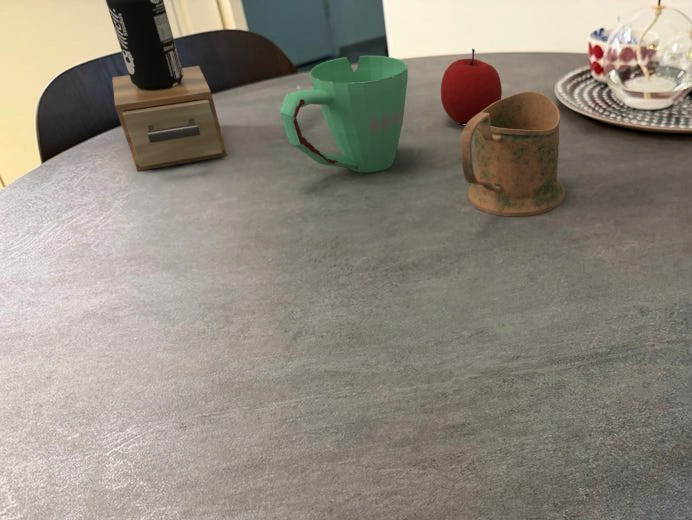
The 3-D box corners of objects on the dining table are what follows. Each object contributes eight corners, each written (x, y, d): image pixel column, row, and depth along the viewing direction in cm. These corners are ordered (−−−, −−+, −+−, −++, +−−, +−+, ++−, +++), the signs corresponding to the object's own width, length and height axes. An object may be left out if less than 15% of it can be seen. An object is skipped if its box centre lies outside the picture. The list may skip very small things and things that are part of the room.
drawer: (226, 163, 91) (213, 111, 87) (142, 178, 88) (123, 124, 84) (210, 124, 103) (198, 76, 99) (135, 136, 100) (119, 87, 96)
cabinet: (227, 155, 96) (210, 91, 90) (137, 171, 92) (114, 105, 87) (214, 125, 106) (198, 65, 100) (132, 138, 102) (112, 77, 97)
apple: (431, 117, 106) (426, 47, 100) (484, 107, 109) (483, 38, 103) (457, 136, 99) (454, 62, 93) (513, 124, 102) (513, 52, 96)
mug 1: (374, 140, 99) (363, 50, 91) (434, 160, 92) (427, 65, 85) (270, 181, 88) (248, 83, 81) (329, 206, 82) (312, 102, 75)
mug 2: (423, 226, 77) (414, 118, 70) (494, 169, 90) (493, 71, 82) (517, 248, 73) (518, 134, 66) (579, 184, 85) (585, 82, 78)
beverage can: (124, 85, 93) (92, -15, 86) (170, 74, 97) (142, -23, 90) (147, 94, 90) (115, -9, 83) (194, 82, 94) (167, -18, 86)
